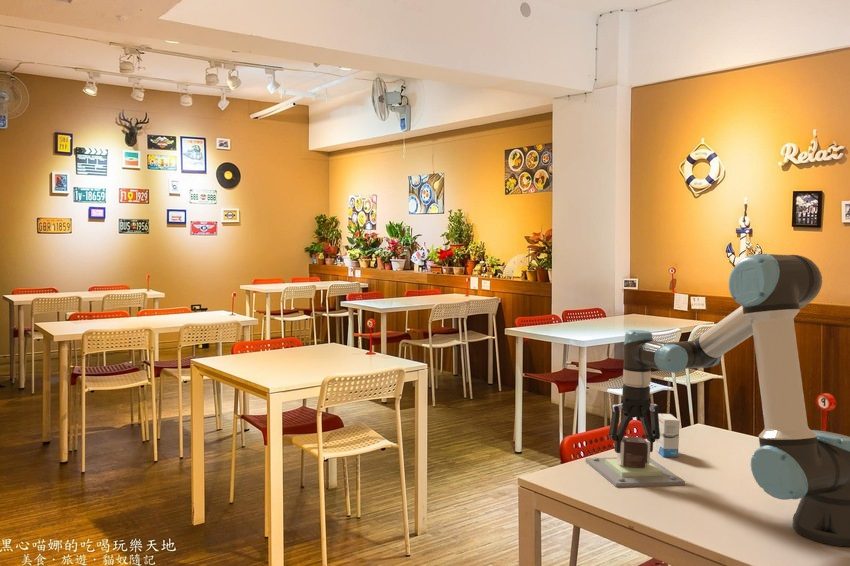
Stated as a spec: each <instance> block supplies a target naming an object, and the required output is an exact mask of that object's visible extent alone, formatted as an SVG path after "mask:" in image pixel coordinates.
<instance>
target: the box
mask: <svg viewBox="0 0 850 566" xmlns="http://www.w3.org/2000/svg"><path fill="white" fill-rule="evenodd" d="M622 442H624V459H623V465H624V466H628V467H641V468H645V453H646V442H645V438H644V437H642V436H632V435H631V436H629V435H626V436H625V435H624V436H623V439H622Z"/></svg>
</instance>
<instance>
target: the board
mask: <svg viewBox="0 0 850 566" xmlns="http://www.w3.org/2000/svg"><path fill="white" fill-rule="evenodd" d="M584 462H585V463H586V464H588V465H589V466H590V467H591V468H593V470H595V471H596V472H597V473H598V474H600V475H601V476H602V477H604V479H605V480H607V482H609V483H610V484H612V486H613V487H615V488H620V487H621V488H626V487H628V488H629V487H655V486H684V485H686V480H684V479H683V478H682V477H680V476H679V475H676V474H675V473H673V472H672V471H671V470H669V469H667V468H666V467H665V466H663V465H661V464H660V463H659V462H657V461H655V460H654V459H652V458H651V457H650V464H649V465H647V464H646V463H645V468H641V467H628V466H624V465H620V464H618V463H617V456H616V457H589V458H588V457H585V461H584Z"/></svg>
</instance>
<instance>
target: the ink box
mask: <svg viewBox="0 0 850 566" xmlns="http://www.w3.org/2000/svg"><path fill="white" fill-rule="evenodd" d="M658 418H659V430H660V439H656V440H655V442H654V450H655V451H656V453H658V454H659V455H661V457H663V458H679V445H680V444H679V443H680V442H679V439H680V420H679V419H678V418H676V417H675V416H674V415H673V414H672V413H658Z"/></svg>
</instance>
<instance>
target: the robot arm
mask: <svg viewBox="0 0 850 566" xmlns="http://www.w3.org/2000/svg"><path fill="white" fill-rule="evenodd" d="M822 285H823V277H822V272H821V271H820V268H819V267H818V265H817V264H816V263H815V262H814V261H812V259H809V258H808V257H806V256H804V255H799V254H775V253H773V254H772V253H771V254H770V253H762V254H761V253H760V254H753V255H747V256H745V257H743V258H742V259H740V260H739V261H738V262H736V264H735V266H734V267H733V268H732V270H731V272H730V274H729V278H728V290H729V293H730V296H731V299H733V300H734V302H735V303H737V304H739V305H740V306H739V307H737V308H736V309H735V310H734V311H732V312H731V313H729V314H728V315H727V316H725V317H724V318H723V319H721V320H720V321H718V322H717V323H716V324H714V325H712V326H711V327H710V328H708V329H707V330H706V331H705V332H703V333H702V334H701V335H698V337H696V338H695V339H693V340H687V341H684V340H683V341H672V342H671V341H669V342H664V341H657V340H654V339H653V333H652V332H651V331H649V330H642V329H631V330H627V331H626V332H625V334H624V343H623V346H624V347H623V349H624V350H623V371H622V375H623V376H622V382H623V385H622V393H621V394H622V395H621V396H622V397H621V398H622V400H621V402H620V403H619V404H616V403H615V404H614V403H612V404H611V407H610V408H611V411H612V412H611V419H610V425H609V431H608V438H609V439H611V440H612V441H614V452H615V453H616V457H617V463H618V464H620V465H623V459H624V442H622V439H623V436H625V433H626V431H627V429H628V427H629V424H630V422H631V421H632V419H633V418H634V419H635V418H639V420H640V423H641V425H642V426H641V427H642V429H643V431H644V434H645V437H646V439H645V438H644V440H645V442H646V453H645V463H646V464H647V465H649V464H650V458H651V453H653V450H654V443H655V440H656V439H660V430H659V418H658V414H659V413H660V408H661V407H660V405H658V404H656V403H651V401H650V399H651V386H649V385H651V377H652V369H655V370H659V371H662V372H664V373H672V374H673V373H674V374H678V373H680V372H682V371H683V370H686V369H688V370H689V369H700V368H701V369H707V368H711V367H715V366H717V365H719V363H720V362H721V359H722V357H723V355H724V354H726V353H728V352H729V351H731V350H732V349H734V348H736V347H737V346H739V344H741V343H743V342H744V341H746V340H747V339H749V338H751V337H752V336H753V343H754V350H755V351H754V353H755V358H756V367H757V373H758V383H759V390H760V391H759V392H760V397H761V398H760V399H761V407H762V415H763V416H762V417H763V422H764V423H763V424H764V429H763V430H762V431H761V432H760V433H759V434H758V442H759V443H758V444H759V447H758V448H756V450H755V451H754V452H753V455H751V457H750V468H751V469H750V470H751V473H752V475H753V479H754V480H755V482H756V483H757V485H758V486H759V487H760V488H761V489H762V490H763V491H764V493H766V494H767V495H769V496H770V497H772V498H774V499H777V500H786V501H787V500H800V501H799V503H798V506H797V508H796V510H795V513H794V514H793V515H792V528H793V530H794V531H795V532H796V533H797V534H799V535H801V536H803V537H805V538H807V539H809V540H813V541H815V542H818V543H822V544H825V545H832V546H836V547H837V546H838V547H845V548H846V547H848V548H849V547H850V436H848V435H844V434H841V433H835V432H831V431H826V430H816V429H810V427H809V426H808V419H807V410H806V402H805V395H804V390H803V379H802V372H801V366H800V365H801V364H800V359H799V350H798V344H797V337H796V335H797V334H796V329H795V320H794V319H795V317H796V316H797V315H798V314H799V313H800V311H801V309H803V308H804V307H805V306H807V305H809V304H810V303H811V302H812V301H814V300H815V299H816V297H817V296H818V295H819V293H820V291H821V290H822ZM622 410H623V414H622V417H621V416H620V414H621V411H622ZM648 410H649V412H650V413H649V414H650V423H651V424H650V423H649V417H648V415H647V412H648ZM620 417H621V420H620ZM619 422H620V423H619Z"/></svg>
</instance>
